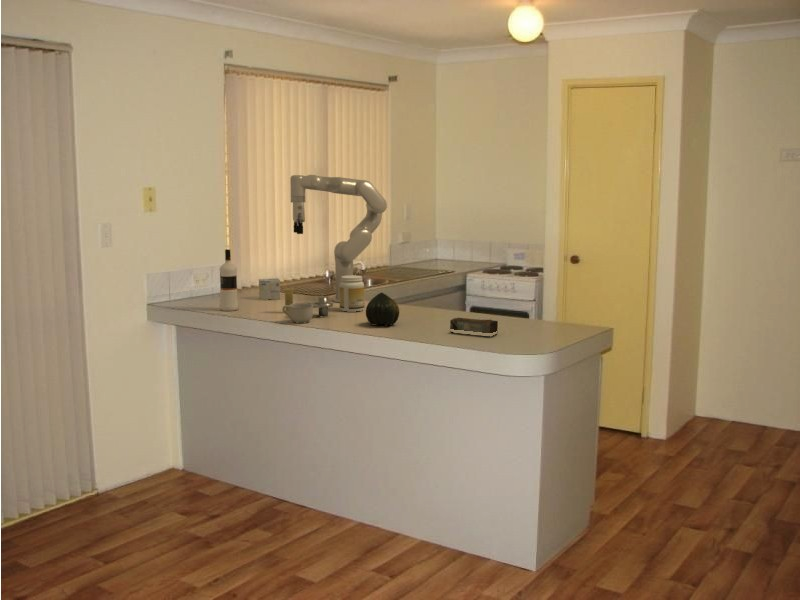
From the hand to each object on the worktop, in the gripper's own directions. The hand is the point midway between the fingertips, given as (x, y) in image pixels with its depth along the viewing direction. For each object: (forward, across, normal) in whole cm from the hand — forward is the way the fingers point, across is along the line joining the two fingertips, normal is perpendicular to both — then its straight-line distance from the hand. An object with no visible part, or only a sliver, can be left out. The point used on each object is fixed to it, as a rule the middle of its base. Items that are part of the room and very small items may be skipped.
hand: (298, 233), depth 410 cm
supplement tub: (+37, -28, -22) cm, 51 cm away
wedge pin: (+36, -27, +9) cm, 46 cm away
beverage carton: (+37, -98, -58) cm, 120 cm away
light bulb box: (+37, +18, +13) cm, 43 cm away
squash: (+37, -68, -26) cm, 82 cm away
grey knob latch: (+36, -40, -1) cm, 54 cm away
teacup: (+37, -52, +9) cm, 64 cm away
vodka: (+37, -11, +36) cm, 53 cm away
